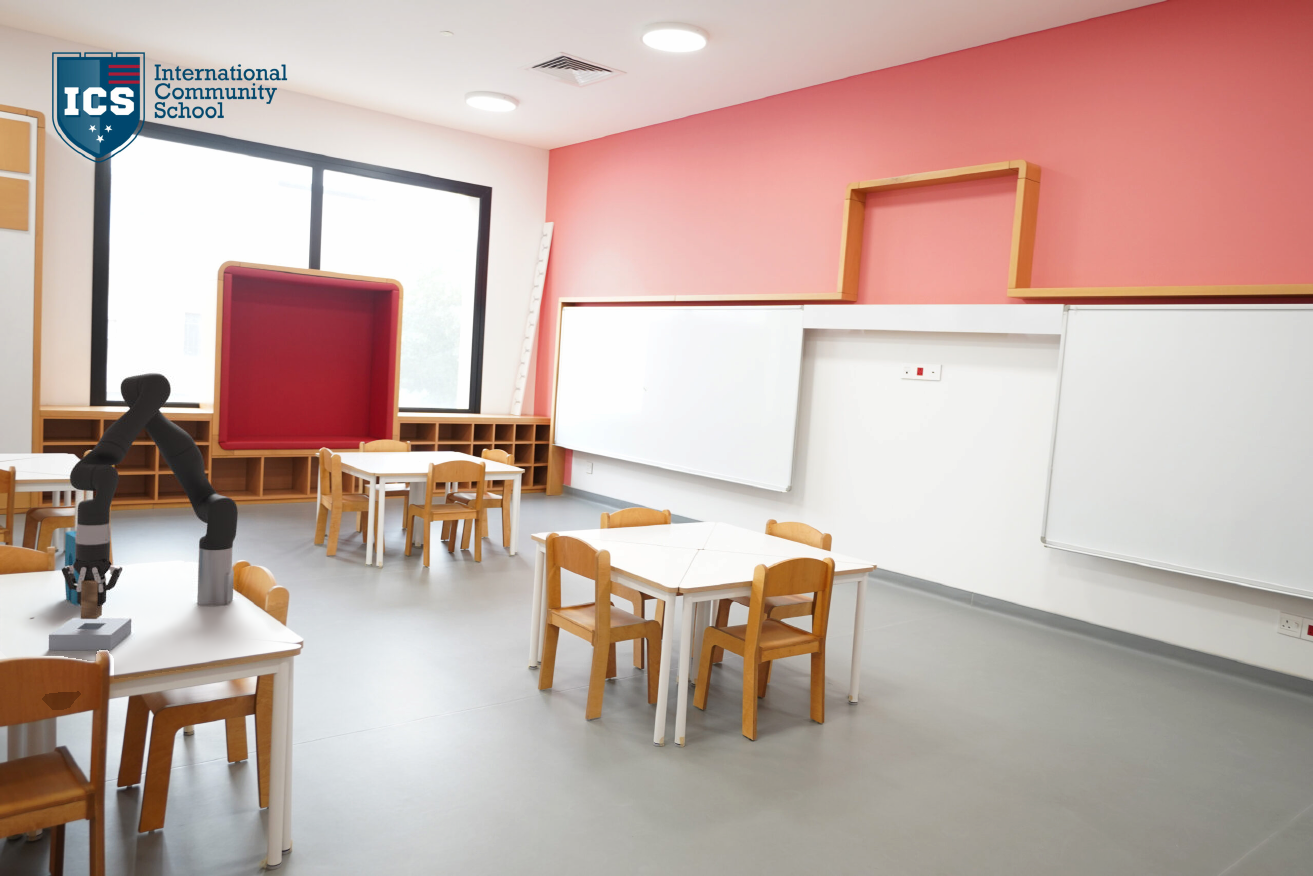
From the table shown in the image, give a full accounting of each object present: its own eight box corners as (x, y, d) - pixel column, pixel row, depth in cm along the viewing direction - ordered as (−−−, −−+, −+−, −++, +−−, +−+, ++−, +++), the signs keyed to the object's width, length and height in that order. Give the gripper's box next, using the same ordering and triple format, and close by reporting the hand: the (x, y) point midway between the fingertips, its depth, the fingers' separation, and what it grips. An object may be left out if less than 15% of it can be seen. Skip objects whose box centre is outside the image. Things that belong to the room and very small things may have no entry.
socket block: (131, 632, 235) (131, 618, 234) (110, 650, 221) (110, 634, 221) (73, 632, 231) (73, 617, 231) (48, 650, 218) (48, 634, 218)
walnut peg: (101, 615, 228) (102, 577, 227) (96, 619, 224) (97, 581, 224) (86, 614, 227) (87, 577, 226) (80, 618, 224) (81, 581, 223)
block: (96, 603, 256) (97, 537, 255) (76, 606, 253) (77, 539, 251) (82, 594, 264) (83, 530, 262) (63, 597, 260) (64, 531, 259)
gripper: (128, 538, 229) (127, 601, 231) (68, 536, 226) (67, 600, 228) (117, 544, 222) (115, 609, 223) (55, 542, 219) (54, 609, 220)
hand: (91, 605), depth 225 cm, fingers closed on walnut peg, 3 cm apart
